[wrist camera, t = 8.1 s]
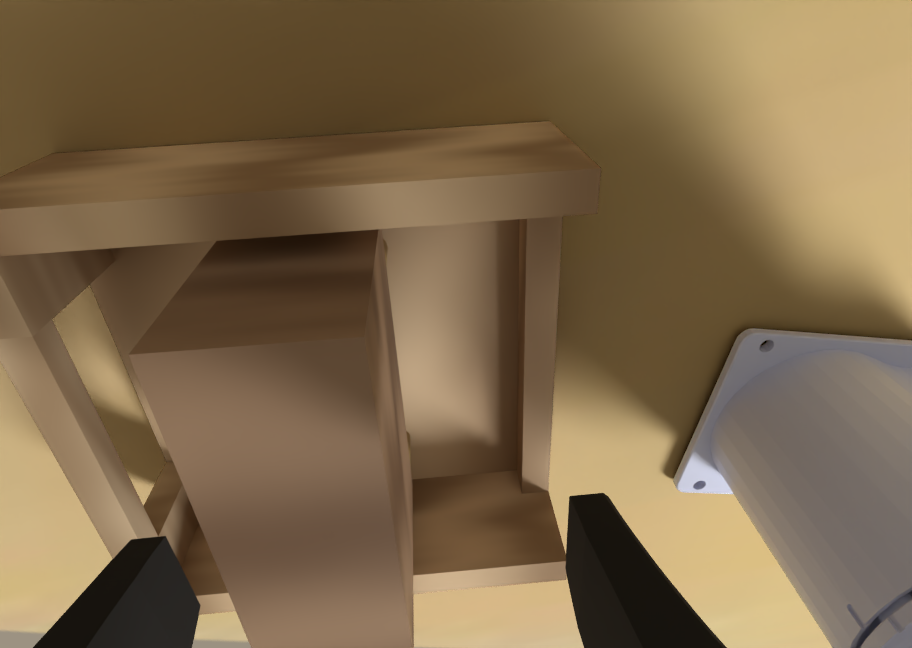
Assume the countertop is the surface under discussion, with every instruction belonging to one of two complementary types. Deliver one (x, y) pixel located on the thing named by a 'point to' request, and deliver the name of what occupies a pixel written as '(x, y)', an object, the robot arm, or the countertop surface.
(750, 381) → the robot arm
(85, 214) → the wooden stool
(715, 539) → the countertop surface
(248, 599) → the brown wooden block
